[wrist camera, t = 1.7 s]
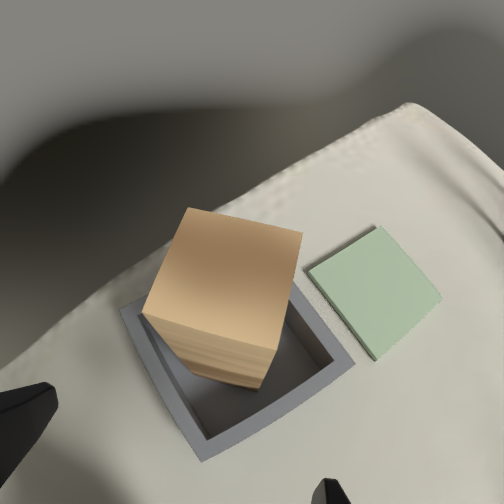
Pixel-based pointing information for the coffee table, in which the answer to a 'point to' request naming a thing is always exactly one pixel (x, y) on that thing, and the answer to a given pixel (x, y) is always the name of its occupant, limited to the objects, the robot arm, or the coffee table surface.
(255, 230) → the oak post
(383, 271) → the sage mat
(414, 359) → the coffee table surface
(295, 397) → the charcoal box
